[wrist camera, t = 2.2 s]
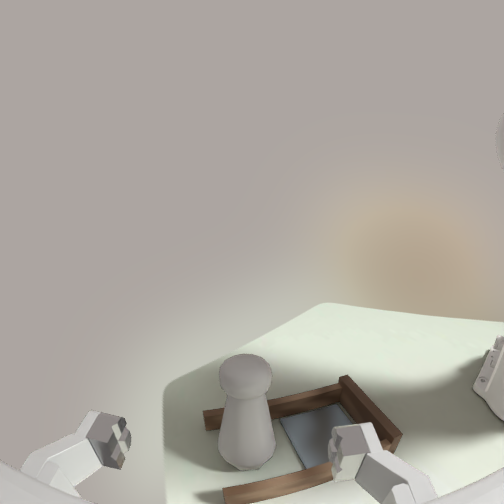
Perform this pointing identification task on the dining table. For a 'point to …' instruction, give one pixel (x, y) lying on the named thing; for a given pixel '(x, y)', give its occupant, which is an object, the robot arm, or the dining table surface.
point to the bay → (311, 436)
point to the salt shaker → (246, 412)
